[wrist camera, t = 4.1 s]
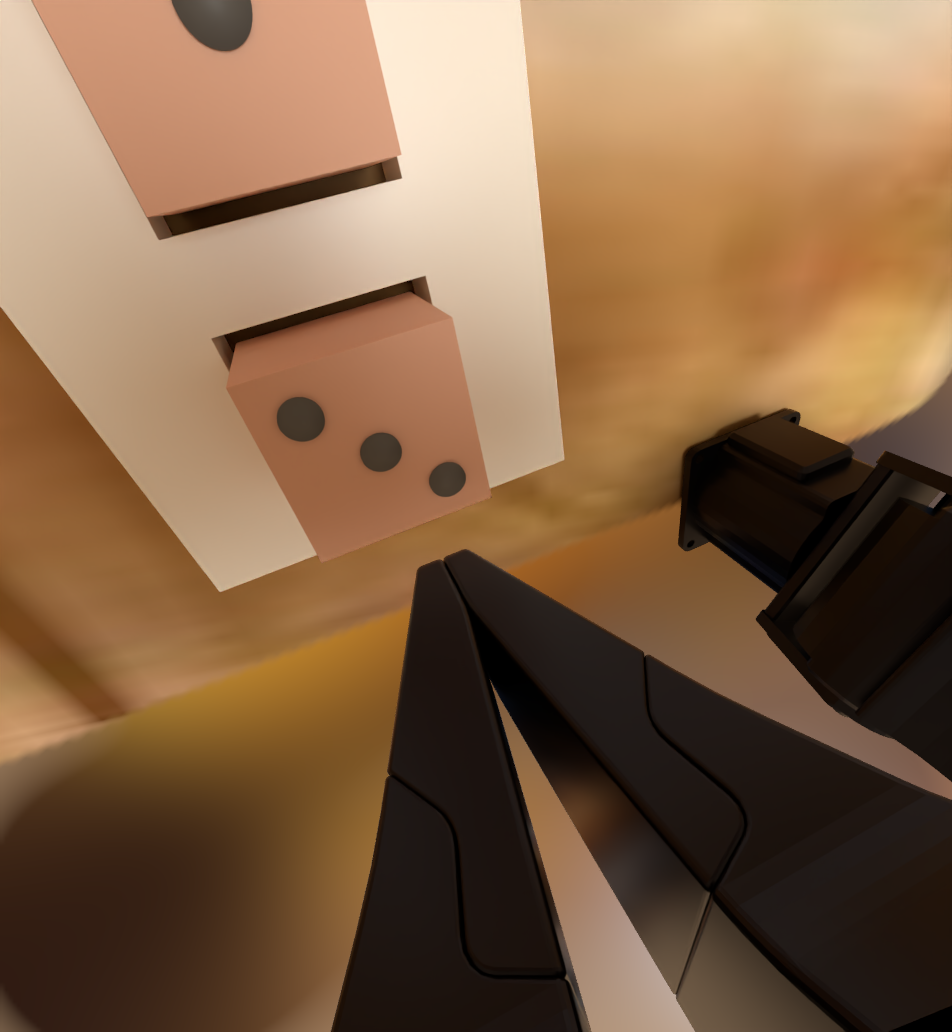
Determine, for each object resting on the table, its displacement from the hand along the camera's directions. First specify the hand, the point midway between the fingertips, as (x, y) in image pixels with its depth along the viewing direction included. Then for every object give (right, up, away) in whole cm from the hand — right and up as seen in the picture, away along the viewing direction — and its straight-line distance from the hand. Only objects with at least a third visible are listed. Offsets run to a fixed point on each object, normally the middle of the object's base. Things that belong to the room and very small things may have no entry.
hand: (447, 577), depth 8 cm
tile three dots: (-3, +5, +7) cm, 9 cm away
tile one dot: (-5, +11, +3) cm, 13 cm away
